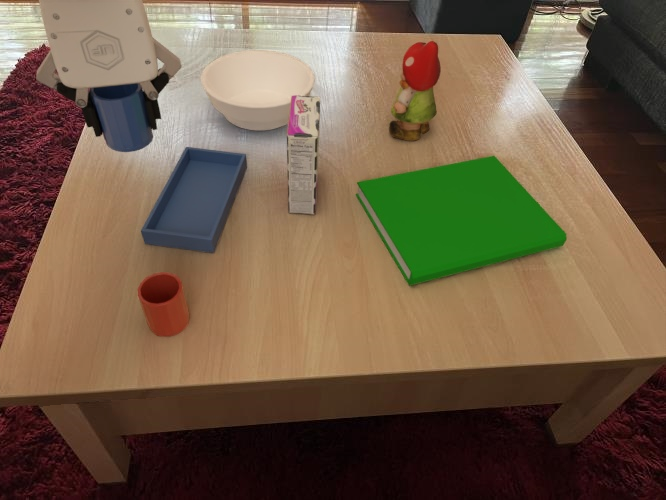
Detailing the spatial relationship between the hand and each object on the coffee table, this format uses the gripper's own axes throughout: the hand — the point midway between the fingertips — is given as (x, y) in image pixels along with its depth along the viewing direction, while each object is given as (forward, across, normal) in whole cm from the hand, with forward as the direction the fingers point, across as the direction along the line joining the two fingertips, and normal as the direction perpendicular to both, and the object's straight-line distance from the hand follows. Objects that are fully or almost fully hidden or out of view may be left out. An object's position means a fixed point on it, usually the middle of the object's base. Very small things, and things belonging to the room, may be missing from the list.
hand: (126, 125), depth 64 cm
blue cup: (+2, 0, 0) cm, 2 cm away
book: (+24, +49, -3) cm, 55 cm away
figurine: (+25, +51, +24) cm, 62 cm away
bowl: (+25, +23, +37) cm, 50 cm away
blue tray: (+24, +7, +12) cm, 28 cm away
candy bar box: (+24, +25, +10) cm, 36 cm away
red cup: (+24, 0, -12) cm, 27 cm away
